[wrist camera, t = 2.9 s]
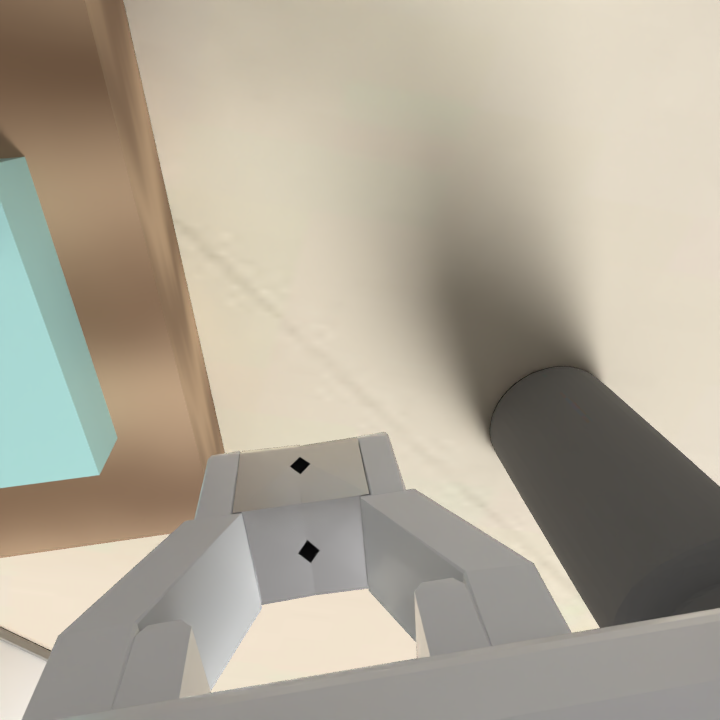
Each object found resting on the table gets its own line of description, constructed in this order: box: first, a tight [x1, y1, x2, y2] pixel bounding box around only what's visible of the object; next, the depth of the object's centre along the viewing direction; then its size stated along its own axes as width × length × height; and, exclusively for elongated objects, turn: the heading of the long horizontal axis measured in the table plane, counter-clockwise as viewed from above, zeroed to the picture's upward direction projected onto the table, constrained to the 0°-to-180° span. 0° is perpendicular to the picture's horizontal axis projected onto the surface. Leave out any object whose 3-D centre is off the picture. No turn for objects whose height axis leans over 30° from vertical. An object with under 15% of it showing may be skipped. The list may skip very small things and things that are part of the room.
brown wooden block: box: [0, 0, 225, 558], centre depth 18 cm, size 18×9×4 cm, turn 4°
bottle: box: [490, 367, 720, 628], centre depth 19 cm, size 6×6×15 cm
